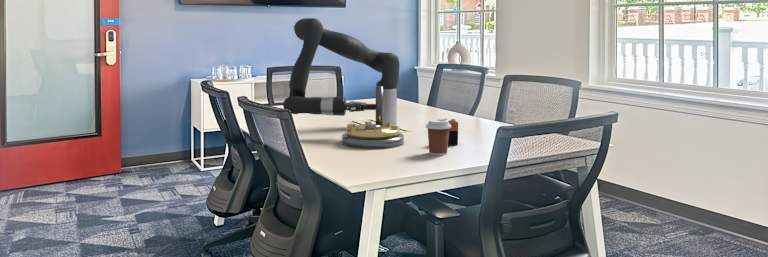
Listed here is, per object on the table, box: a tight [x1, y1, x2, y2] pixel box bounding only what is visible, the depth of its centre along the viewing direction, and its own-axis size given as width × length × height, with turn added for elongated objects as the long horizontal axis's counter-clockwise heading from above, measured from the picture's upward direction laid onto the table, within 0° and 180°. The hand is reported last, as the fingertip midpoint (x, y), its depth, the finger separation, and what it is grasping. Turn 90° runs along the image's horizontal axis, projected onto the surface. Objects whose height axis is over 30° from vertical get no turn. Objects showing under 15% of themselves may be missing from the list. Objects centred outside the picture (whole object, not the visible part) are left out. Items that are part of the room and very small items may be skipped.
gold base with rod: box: [345, 85, 401, 139], centre depth 248 cm, size 21×21×18 cm
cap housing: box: [341, 132, 405, 150], centre depth 250 cm, size 24×24×3 cm
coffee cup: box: [425, 118, 451, 156], centre depth 229 cm, size 9×9×12 cm
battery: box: [443, 118, 459, 146], centre depth 246 cm, size 4×7×10 cm, turn 97°
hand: (376, 107), depth 257 cm, fingers closed
